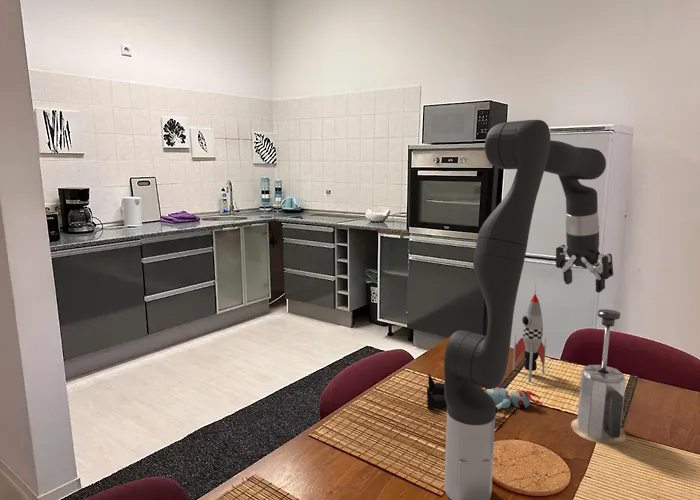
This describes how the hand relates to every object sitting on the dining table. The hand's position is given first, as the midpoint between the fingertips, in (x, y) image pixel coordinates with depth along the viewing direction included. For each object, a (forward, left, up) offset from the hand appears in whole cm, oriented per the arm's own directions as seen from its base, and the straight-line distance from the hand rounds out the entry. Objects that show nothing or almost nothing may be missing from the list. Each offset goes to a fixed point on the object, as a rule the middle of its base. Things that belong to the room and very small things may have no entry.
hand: (583, 287), depth 128 cm
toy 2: (+18, +5, -33) cm, 38 cm away
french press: (-16, +1, -32) cm, 36 cm away
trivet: (-15, +1, -33) cm, 36 cm away
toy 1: (0, +25, -33) cm, 42 cm away
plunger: (-15, +1, -20) cm, 25 cm away
